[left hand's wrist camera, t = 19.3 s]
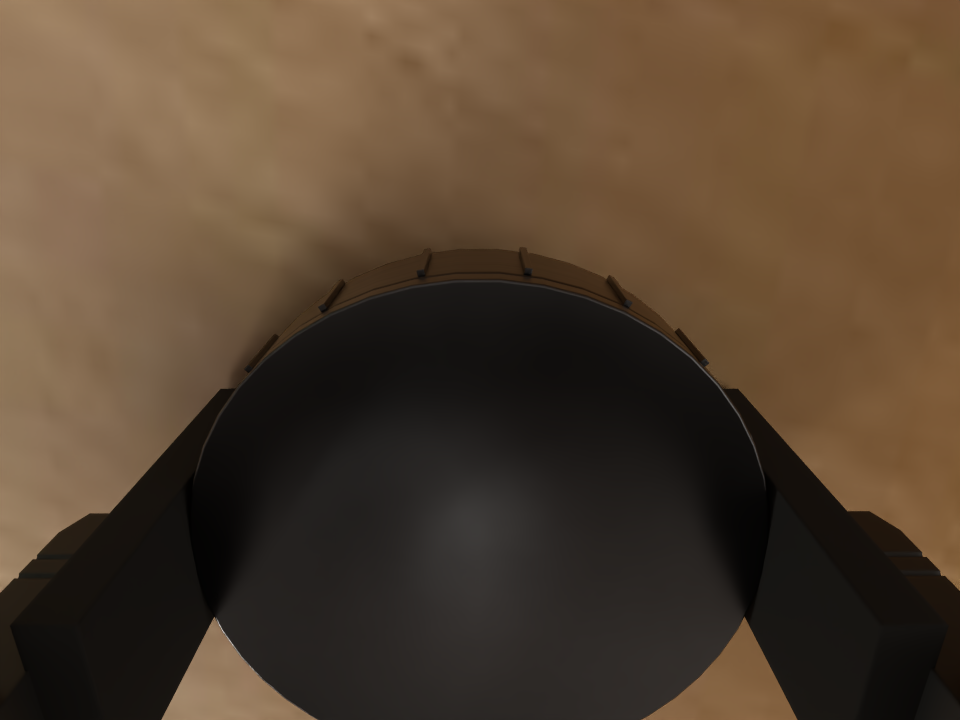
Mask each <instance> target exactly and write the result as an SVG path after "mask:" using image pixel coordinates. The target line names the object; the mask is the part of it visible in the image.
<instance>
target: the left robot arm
mask: <svg viewBox="0 0 960 720" xmlns="http://www.w3.org/2000/svg"><path fill="white" fill-rule="evenodd" d="M723 390H724V391H725V393H726V394H727V396H728V397H729V398H730V400H731V401H732V403H733V404H734V406H735V407H736V408H737V410H738V411H739V413H740V415H741V417H742V419H743V421H744V423H745V425H746V427H747V429H748V431H749V432H750V433H751V435H752V438H753V441H754V443H755V446H756V449H757V453H758V456H759V459H760V463H761V466H762V469H763V473H764V476H765V483H766V490H767V498H768V505H769V525H768V544H767V549H766V554H765V559H764V565H763V570H762V575H761V578H760V581H759V583H758V586H757V589H756V592H755V595H754V598H753V601H752V603H751V605H750V607H749V609H748V611H747V613H746V614H745V618H746V620H747V622H748V624H749V626H750V628H751V630H752V632H753V634H754V636H755V638H756V640H757V642H758V644H759V645H760V647H761V649H762V651H763V653H764V655H765V657H766V659H767V661H768V663H769V665H770V667H771V669H772V671H773V673H774V675H775V677H776V679H777V681H778V682H779V684H780V686H781V688H782V690H783V692H784V694H785V696H786V698H787V700H788V702H789V704H790V706H791V708H792V710H793V712H794V714H795V716H796V718H797V719H798V720H960V591H959V590H958V589H957V588H956V587H955V586H954V585H953V584H952V583H951V582H950V581H949V580H948V579H947V578H946V576H941V574H940V570H939V569H938V568H937V567H936V566H935V565H934V564H933V563H932V562H931V561H930V560H929V559H928V558H927V557H923V556H922V552H921V551H920V550H919V549H918V548H917V547H916V546H915V545H914V544H913V543H912V542H911V541H910V540H909V539H908V538H907V537H906V536H905V534H904V533H903V532H902V531H901V530H899V529H897V528H896V527H894V526H893V525H891V524H889V523H888V522H886V521H884V520H883V519H881V518H879V517H878V516H876V515H875V514H873V513H871V512H870V511H846V509H845V508H844V507H843V506H842V505H841V504H840V503H839V502H838V500H837V499H836V498H835V497H834V496H833V495H832V494H831V493H830V492H829V490H828V489H827V488H826V487H825V486H824V485H823V484H822V483H821V481H820V480H819V479H818V478H817V477H816V476H815V475H814V474H813V472H812V471H811V470H810V469H809V468H808V467H807V466H806V465H805V464H804V462H803V461H802V460H801V459H800V458H799V457H798V456H797V455H796V453H795V452H794V451H793V450H792V449H791V448H790V447H789V446H788V444H787V443H786V442H785V441H784V440H783V439H782V438H781V437H780V435H779V434H778V433H777V432H776V431H775V430H774V429H773V428H772V427H771V425H770V424H769V423H768V422H767V421H766V420H765V419H764V418H763V416H762V415H761V414H760V413H759V412H758V411H757V410H756V409H755V407H754V406H753V405H752V404H751V403H750V402H749V401H748V400H747V398H746V397H745V396H744V395H743V394H742V393H741V392H740V391H739V390H738V389H723ZM234 391H235V389H220V390H219V392H218V393H217V394H216V395H215V396H214V397H213V398H212V399H211V400H210V402H209V403H208V404H207V405H206V406H205V407H204V408H203V409H202V411H201V412H200V413H199V414H198V415H197V416H196V417H195V418H194V420H193V421H192V422H191V423H190V424H189V425H188V426H187V427H186V428H185V430H184V431H183V432H182V433H181V434H180V435H179V436H178V437H177V439H176V440H175V441H174V442H173V443H172V444H171V445H170V446H169V448H168V449H167V450H166V451H165V452H164V453H163V454H162V455H161V457H160V458H159V459H158V460H157V461H156V462H155V463H154V464H153V465H152V467H151V468H150V469H149V470H148V471H147V472H146V473H145V474H144V476H143V477H142V478H141V479H140V480H139V481H138V482H137V483H136V485H135V486H134V487H133V488H132V489H131V490H130V491H129V492H128V493H127V495H126V496H125V497H124V498H123V499H122V500H121V501H120V502H119V504H118V505H117V506H116V507H115V508H114V509H113V510H112V511H111V513H110V514H88V515H87V516H85V517H83V518H82V519H80V520H79V521H77V522H75V523H74V524H72V525H70V526H69V527H67V528H66V529H64V530H62V531H61V532H59V533H58V534H57V535H56V536H55V537H54V538H53V539H52V540H51V541H50V542H49V543H48V544H47V545H46V546H45V547H44V548H43V549H42V551H41V552H40V553H39V554H38V555H37V559H33V560H32V561H31V562H30V563H29V564H28V565H27V566H26V567H25V568H24V569H23V570H22V571H21V572H20V573H19V578H18V579H16V578H14V579H13V580H12V581H11V582H10V584H9V585H8V586H7V587H6V588H5V589H4V590H3V591H2V592H1V593H0V720H161V719H162V717H163V715H164V713H165V711H166V709H167V708H168V706H169V704H170V702H171V700H172V698H173V696H174V694H175V692H176V690H177V688H178V686H179V684H180V682H181V680H182V678H183V676H184V674H185V672H186V671H187V669H188V667H189V665H190V663H191V661H192V659H193V657H194V655H195V653H196V651H197V649H198V647H199V645H200V643H201V641H202V639H203V637H204V635H205V634H206V632H207V630H208V628H209V626H210V624H211V622H212V620H213V618H214V615H213V613H212V611H211V609H210V607H209V605H208V603H207V601H206V598H205V595H204V592H203V590H202V587H201V584H200V581H199V578H198V576H197V571H196V566H195V560H194V555H193V550H192V545H191V531H190V504H191V496H192V488H193V480H194V476H195V472H196V469H197V465H198V462H199V458H200V455H201V452H202V448H203V445H204V443H205V441H206V439H207V437H208V435H209V433H210V431H211V428H212V426H213V424H214V422H215V420H216V418H217V416H218V414H219V413H220V411H221V410H222V408H223V407H224V405H225V404H226V402H227V401H228V399H229V398H230V397H231V395H232V394H233V392H234Z"/></svg>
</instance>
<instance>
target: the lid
mask: <svg viewBox="0 0 960 720" xmlns="http://www.w3.org/2000/svg"><path fill="white" fill-rule="evenodd" d="M708 364H709V362H708V361H707V360H706V359H705V357H704V356H703V355H702V354H701V353H700V352H699V351H698V349H697V348H696V347H695V346H694V345H693V344H692V342H691V341H690V340H689V339H688V338H687V337H686V335H685V334H684V333H683V332H682V331H681V330H680V329H677V330H676V331H674V330H673V329H672V328H671V327H670V326H669V325H668V324H667V323H666V322H665V321H664V320H663V319H662V318H661V317H660V316H659V315H658V314H657V313H656V312H654V311H653V310H652V309H651V308H649V307H648V306H647V305H646V304H644V303H643V302H642V301H640V300H639V299H638V298H637V297H635V296H634V295H633V294H631V293H629V292H628V291H626V290H624V289H623V288H622V287H621V286H620V285H619V283H618V282H617V281H616V279H615V278H614V277H612V276H610V275H609V276H608V278H607V279H605V278H604V277H602V276H599V275H597V274H594V273H592V272H589V271H587V270H585V269H582V268H580V267H577V266H575V265H572V264H570V263H567V262H563V261H559V260H555V259H551V258H548V257H544V256H540V255H536V254H531V253H528V252H527V249H526V248H523V247H520V248H519V252H515V251H507V250H499V249H458V250H451V251H443V252H436V253H431V249H424V252H423V254H422V255H418V256H415V257H411V258H407V259H404V260H400V261H396V262H393V263H389V264H386V265H384V266H381V267H379V268H377V269H374V270H372V271H369V272H367V273H365V274H362V275H360V276H358V277H355V278H353V279H352V280H350V281H348V282H347V283H345V282H344V281H343V279H341V280H340V281H338V282H337V283H336V284H335V286H334V287H333V288H332V289H331V291H330V292H329V293H328V294H326V295H325V296H323V297H322V298H321V299H320V300H318V301H317V302H316V303H315V304H313V305H312V306H311V307H310V308H308V309H307V310H306V311H305V312H303V313H302V314H301V315H300V316H298V317H297V318H296V319H295V320H294V322H293V323H292V324H291V325H290V326H289V327H288V328H287V329H286V330H285V331H284V332H283V333H282V334H281V335H280V337H278V336H277V335H276V334H274V335H273V337H272V338H271V339H270V340H269V341H268V342H267V343H266V345H265V346H264V347H263V348H262V349H261V350H260V352H259V353H258V354H257V355H256V356H255V357H254V358H253V360H252V361H251V362H250V363H249V364H248V365H247V367H246V368H245V369H244V370H245V371H247V372H248V374H247V376H246V377H245V378H244V379H243V380H242V381H241V383H240V384H239V385H238V386H237V388H236V389H235V391H234V392H233V394H232V395H231V397H230V398H229V399H228V401H227V402H226V404H225V405H224V407H223V408H222V410H221V411H220V413H219V414H218V416H217V418H216V420H215V422H214V424H213V426H212V428H211V431H210V433H209V435H208V437H207V439H206V441H205V443H204V445H203V448H202V452H201V455H200V458H199V462H198V465H197V469H196V472H195V476H194V480H193V488H192V496H191V504H190V531H191V545H192V550H193V555H194V560H195V566H196V571H197V576H198V578H199V581H200V584H201V587H202V590H203V592H204V595H205V598H206V601H207V603H208V605H209V607H210V609H211V611H212V613H213V615H214V617H215V619H216V620H217V622H218V624H219V626H220V628H221V630H222V632H223V633H224V634H225V636H226V637H227V638H228V640H229V641H230V643H231V644H232V645H233V647H234V648H235V650H236V651H237V652H238V654H239V655H240V656H241V657H242V659H243V660H244V661H245V662H246V663H247V664H248V665H249V666H250V667H251V668H252V669H253V670H254V671H255V672H256V674H257V675H258V676H259V677H260V678H261V679H262V680H263V681H265V682H266V683H267V684H268V685H269V686H271V687H272V688H273V689H274V690H275V691H276V692H278V693H279V694H280V695H281V696H282V697H284V698H285V699H286V700H288V701H289V702H291V703H292V704H294V705H295V706H297V707H298V708H300V709H301V710H303V711H304V712H306V713H307V714H309V715H310V716H312V717H314V718H315V719H317V720H641V719H643V718H645V717H647V716H649V715H650V714H652V713H653V712H655V711H656V710H658V709H659V708H661V707H662V706H664V705H665V704H667V703H668V702H670V701H671V700H673V699H674V698H675V697H677V696H678V695H679V694H680V693H681V692H682V691H684V690H685V689H686V688H687V687H688V686H689V685H691V684H692V683H693V682H694V681H695V680H696V679H698V678H699V677H700V676H701V675H702V674H703V672H704V671H705V670H706V669H707V668H708V667H709V666H710V665H711V664H712V663H713V662H714V660H715V659H716V658H717V657H718V656H719V655H720V654H721V652H722V651H723V649H724V648H725V647H726V645H727V644H728V642H729V641H730V640H731V638H732V637H733V635H734V634H735V632H736V631H737V630H738V628H739V626H740V624H741V622H742V620H743V618H744V616H745V614H746V613H747V611H748V609H749V607H750V605H751V603H752V601H753V598H754V595H755V592H756V589H757V586H758V583H759V581H760V578H761V575H762V570H763V565H764V559H765V554H766V549H767V544H768V525H769V505H768V498H767V490H766V483H765V476H764V473H763V469H762V466H761V463H760V459H759V456H758V453H757V449H756V446H755V443H754V441H753V438H752V435H751V433H750V432H749V431H748V429H747V427H746V425H745V423H744V421H743V419H742V417H741V415H740V413H739V411H738V410H737V408H736V407H735V406H734V404H733V403H732V401H731V400H730V398H729V397H728V396H727V394H726V393H725V391H724V390H723V388H722V387H721V386H720V384H719V383H718V382H717V380H716V379H715V378H714V377H713V376H712V375H711V373H710V372H709V371H708V370H707V368H706V367H705V366H706V365H708Z"/></svg>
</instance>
